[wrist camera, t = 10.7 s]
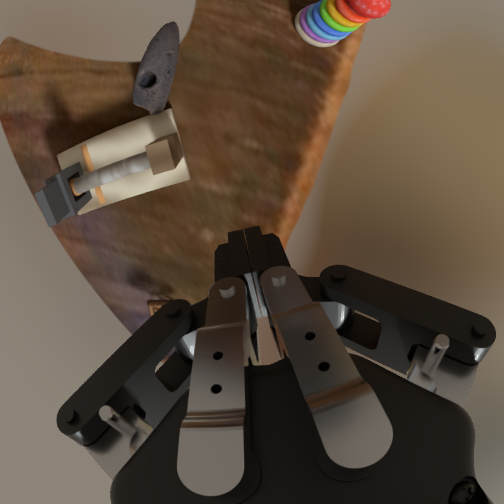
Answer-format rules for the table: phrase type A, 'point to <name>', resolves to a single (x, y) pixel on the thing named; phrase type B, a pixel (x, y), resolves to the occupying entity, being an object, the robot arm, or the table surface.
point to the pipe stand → (128, 160)
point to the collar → (61, 196)
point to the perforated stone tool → (157, 70)
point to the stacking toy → (336, 19)
